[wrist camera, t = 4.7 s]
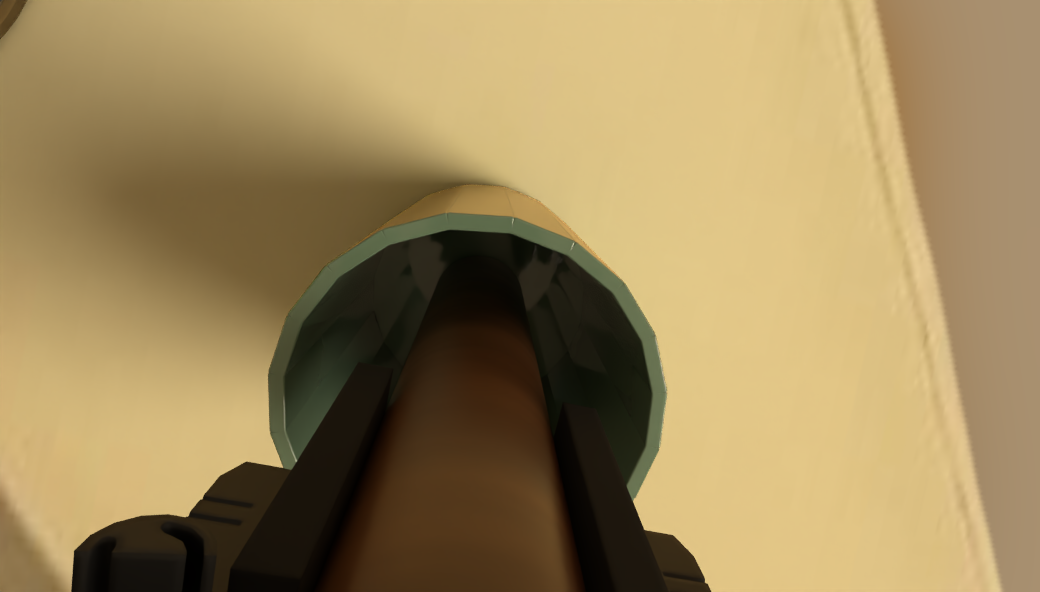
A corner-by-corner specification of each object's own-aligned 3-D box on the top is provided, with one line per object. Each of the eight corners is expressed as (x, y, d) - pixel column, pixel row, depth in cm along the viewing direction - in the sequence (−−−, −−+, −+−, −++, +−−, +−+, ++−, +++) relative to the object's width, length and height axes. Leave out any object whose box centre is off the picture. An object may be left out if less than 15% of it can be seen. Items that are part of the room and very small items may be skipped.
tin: (321, 263, 26) (183, 357, 14) (514, 138, 25) (533, 130, 13) (448, 438, 28) (417, 642, 16) (629, 328, 27) (732, 463, 16)
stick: (417, 285, 26) (138, 801, 5) (492, 238, 25) (493, 600, 5) (465, 356, 27) (383, 1030, 6) (538, 311, 26) (701, 870, 6)
